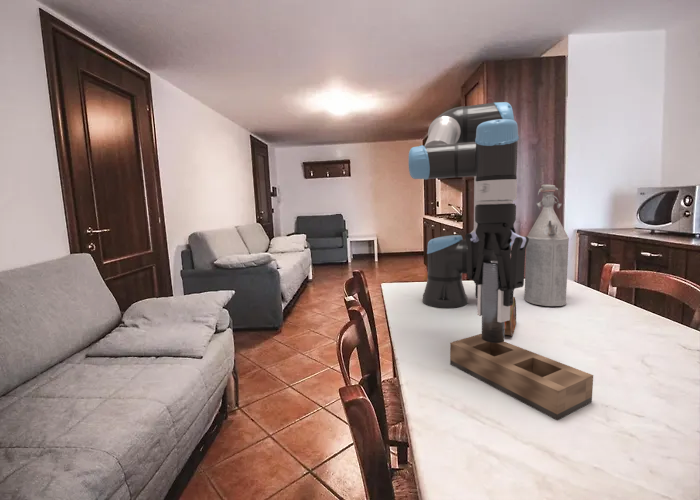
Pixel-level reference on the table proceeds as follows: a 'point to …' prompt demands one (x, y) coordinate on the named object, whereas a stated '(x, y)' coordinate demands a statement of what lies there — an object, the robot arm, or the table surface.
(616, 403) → the table surface
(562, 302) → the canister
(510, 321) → the tin
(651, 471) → the table surface
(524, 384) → the bore block
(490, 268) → the pin
